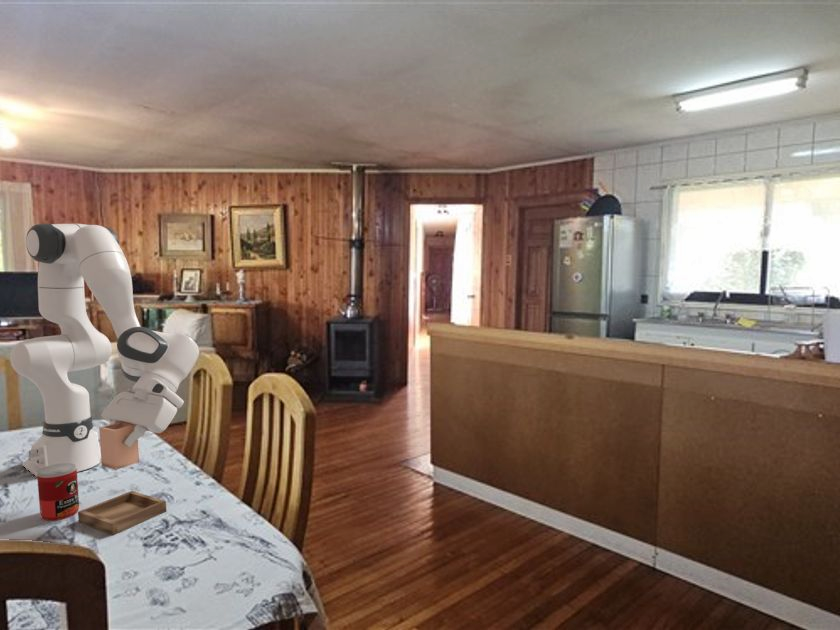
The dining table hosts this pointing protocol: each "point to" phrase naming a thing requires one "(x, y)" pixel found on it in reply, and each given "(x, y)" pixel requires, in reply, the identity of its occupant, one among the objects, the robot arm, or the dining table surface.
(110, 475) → the dining table surface
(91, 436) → the robot arm
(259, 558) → the dining table surface
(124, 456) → the open rectangular container
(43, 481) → the canned food
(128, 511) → the tray
